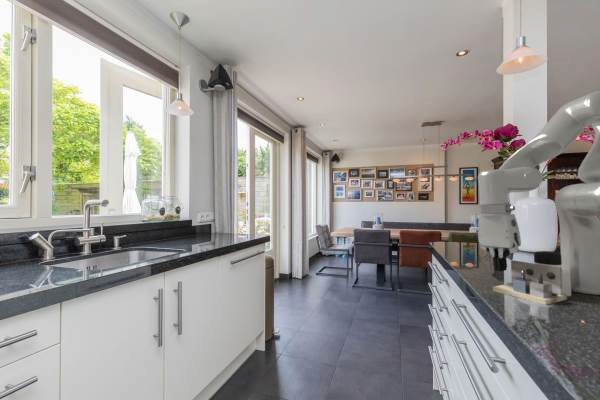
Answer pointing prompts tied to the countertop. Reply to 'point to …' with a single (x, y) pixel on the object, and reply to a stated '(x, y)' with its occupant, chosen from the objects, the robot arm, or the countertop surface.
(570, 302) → the countertop surface
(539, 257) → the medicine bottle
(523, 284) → the sliding pin
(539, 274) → the board
